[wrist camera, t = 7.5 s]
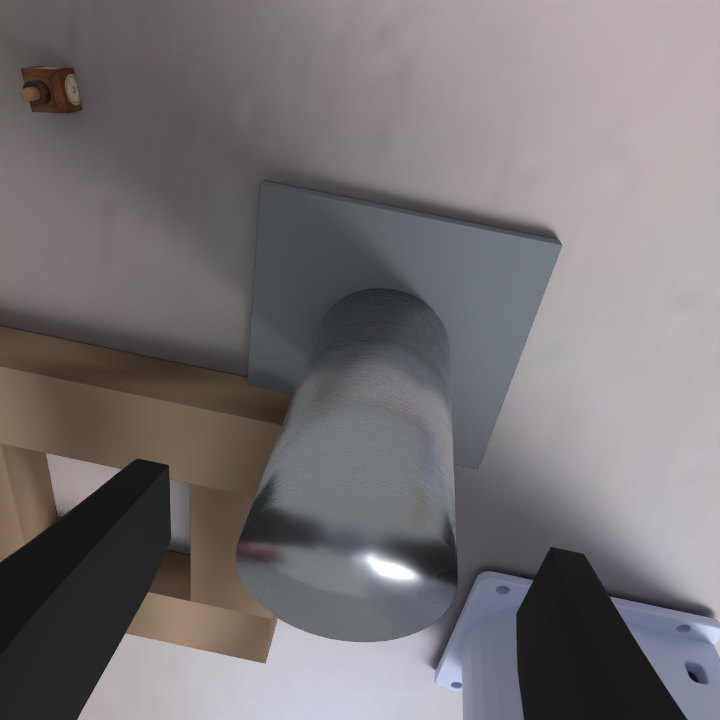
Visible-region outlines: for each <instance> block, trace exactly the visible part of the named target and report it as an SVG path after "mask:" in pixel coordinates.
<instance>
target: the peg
mask: <svg viewBox="0 0 720 720" xmlns="http://www.w3.org/2000/svg"><path fill="white" fill-rule="evenodd" d="M236 565H237V569H238V573H239V575H240V578H241V580H242V582H243V584H244V585H245V587H246V589H247V590H248V592H249V593H250V594H251V595H252V596H253V598H254V599H255V600H256V601H257V602H258V603H259V604H260V605H261V606H262V607H263V608H265V609H266V610H267V611H269V612H270V613H271V614H273V615H274V616H276V617H277V618H279V619H281V620H282V621H284V622H286V623H288V624H290V625H292V626H294V627H296V628H298V629H301V630H303V631H306V632H309V633H312V634H315V635H318V636H322V637H326V638H330V639H336V640H342V641H352V642H377V641H387V640H393V639H398V638H401V637H405V636H408V635H411V634H414V633H416V632H419V631H421V630H423V629H425V628H426V627H428V626H430V625H431V624H433V623H434V622H436V621H437V620H438V619H439V618H440V617H441V616H442V615H443V614H444V613H445V612H446V611H447V609H448V608H449V607H450V605H451V603H452V601H453V599H454V597H455V594H456V590H457V581H458V573H457V545H456V516H455V488H454V460H453V431H452V403H451V374H450V346H449V338H448V335H447V331H446V329H445V327H444V324H443V323H442V321H441V319H440V318H439V316H438V315H437V314H436V313H435V312H434V310H433V309H431V308H430V307H429V306H428V305H427V304H426V303H424V302H423V301H421V300H420V299H418V298H416V297H414V296H413V295H410V294H408V293H405V292H402V291H398V290H394V289H387V288H373V289H365V290H361V291H357V292H355V293H352V294H349V295H347V296H346V297H344V298H342V299H341V300H339V301H338V302H337V303H335V304H334V305H333V306H332V307H331V308H330V309H329V310H328V311H327V313H326V314H325V315H324V317H323V319H322V321H321V323H320V325H319V328H318V330H317V333H316V336H315V338H314V341H313V344H312V346H311V349H310V352H309V354H308V357H307V360H306V362H305V365H304V368H303V370H302V373H301V376H300V378H299V381H298V384H297V386H296V389H295V392H294V394H293V397H292V400H291V402H290V405H289V408H288V410H287V413H286V416H285V418H284V421H283V424H282V426H281V429H280V432H279V434H278V437H277V440H276V442H275V445H274V448H273V450H272V453H271V456H270V458H269V461H268V464H267V466H266V469H265V471H264V474H263V477H262V479H261V482H260V485H259V487H258V490H257V493H256V495H255V498H254V501H253V503H252V506H251V509H250V511H249V514H248V517H247V519H246V522H245V525H244V527H243V530H242V533H241V535H240V538H239V541H238V544H237V549H236Z"/></svg>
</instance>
